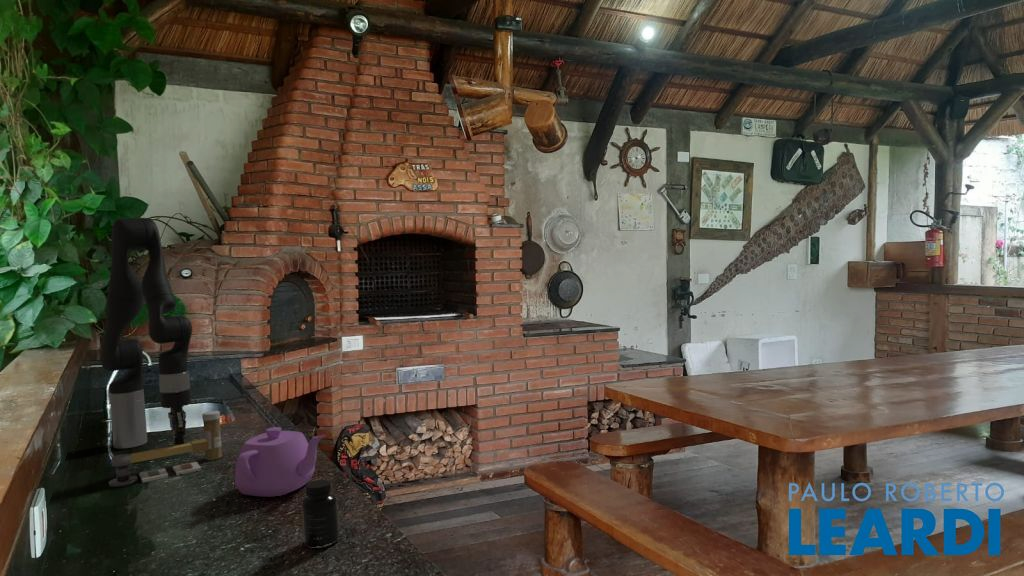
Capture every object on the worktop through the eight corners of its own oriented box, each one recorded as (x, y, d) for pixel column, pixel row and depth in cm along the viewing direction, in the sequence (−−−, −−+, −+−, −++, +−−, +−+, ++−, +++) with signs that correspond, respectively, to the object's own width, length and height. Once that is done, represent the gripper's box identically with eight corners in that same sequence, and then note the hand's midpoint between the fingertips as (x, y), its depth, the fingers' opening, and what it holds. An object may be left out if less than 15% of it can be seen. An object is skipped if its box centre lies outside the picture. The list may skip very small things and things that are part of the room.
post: (108, 482, 170) (106, 465, 169) (136, 476, 173) (134, 459, 173) (109, 489, 164) (108, 471, 164) (138, 483, 168) (137, 465, 168)
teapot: (212, 504, 151) (208, 441, 150) (271, 474, 171) (268, 417, 170) (295, 513, 144) (291, 446, 144) (347, 480, 164) (343, 421, 164)
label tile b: (172, 469, 179) (172, 465, 178) (196, 464, 182) (196, 460, 182) (176, 475, 173) (176, 471, 173) (201, 470, 176) (200, 466, 176)
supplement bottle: (308, 535, 132) (305, 478, 132) (342, 533, 133) (339, 476, 132) (300, 551, 125) (296, 490, 125) (336, 548, 126) (332, 488, 125)
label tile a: (139, 475, 174) (139, 471, 174) (164, 470, 177) (164, 466, 177) (142, 482, 168) (142, 478, 168) (168, 477, 172) (168, 473, 172)
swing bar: (111, 464, 169) (110, 455, 169) (205, 446, 182) (204, 438, 182) (112, 468, 165) (112, 459, 165) (208, 450, 178) (207, 441, 178)
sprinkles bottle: (223, 458, 186) (220, 412, 185) (206, 461, 184) (203, 415, 183) (221, 454, 190) (218, 409, 189) (204, 457, 188) (200, 412, 187)
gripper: (156, 387, 183) (161, 447, 184) (163, 394, 172) (167, 458, 173) (186, 383, 187) (190, 442, 188) (194, 389, 176) (198, 452, 177)
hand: (179, 449), depth 180 cm, fingers closed
